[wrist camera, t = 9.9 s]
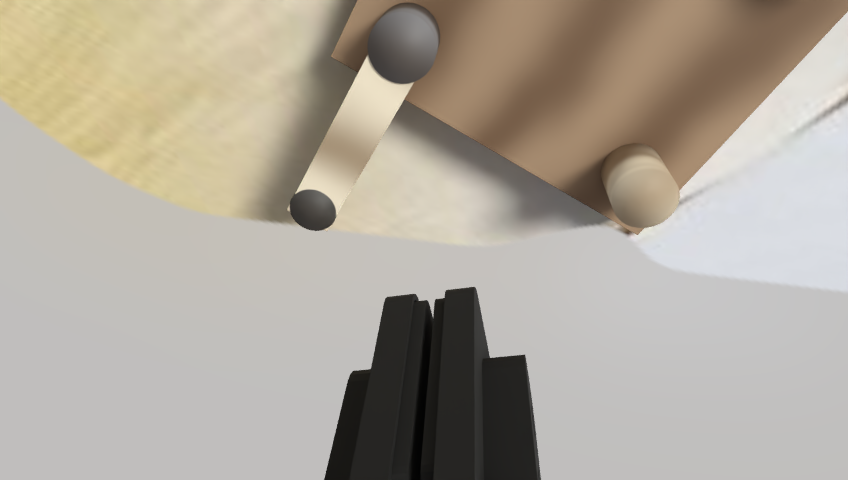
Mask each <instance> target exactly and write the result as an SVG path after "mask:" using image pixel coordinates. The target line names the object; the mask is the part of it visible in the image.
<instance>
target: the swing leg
mask: <svg viewBox="0 0 848 480" xmlns="http://www.w3.org/2000/svg"><path fill="white" fill-rule="evenodd" d="M439 44H440V30H439V26H438V23H437V21H436V19H435V18H434V16H433V15H432V14H431V13H430V12H429V11H428V10H427V9H426V8H424V7H423V6H421V5H418V4H415V3H409V2H406V3H399V4H396V5H394V6H392V7H391V8H389V9H388V10H387V11H386V12H385V13H384V14H383V16H382V17H381V18H380V19H379V21H378V22H377V23H376V24H375V26H374V27H373V29H372V30H371V32H370V35H369V38H368V55H367V57H366V59H365V61H364V63H363V65H362V67H361V69H360V70H359V72H358V74H357V76H356V78H355V80H354V82H353V84H352V86H351V88H350V90H349V92H348V94H347V95H346V97H345V99H344V101H343V103H342V105H341V107H340V109H339V111H338V113H337V115H336V117H335V118H334V120H333V122H332V124H331V126H330V128H329V130H328V132H327V134H326V136H325V138H324V140H323V142H322V143H321V145H320V147H319V149H318V151H317V153H316V155H315V157H314V159H313V161H312V163H311V165H310V166H309V168H308V170H307V172H306V174H305V176H304V178H303V180H302V182H301V184H300V186H299V188H298V189H297V191H296V193H295V194H294V196H293V197H292V199H291V201H290V205H289V207H288V209H287V211H289V212H291V215H292V217H293V219H294V220H295V221H296V222H297V223H298V224H299V225H300V226H302V227H304V228H306V229H309V230H314V231H319V230H325V231H328V229H329V227H330V226H331V225H332V224H333V222H334V220H335V218H336V216H337V214H338V212H339V210H340V208H341V207H342V205H343V203H344V202H345V200H346V198H347V196H348V195H349V193H350V191H351V190H352V188H353V186H354V184H355V183H356V181H357V179H358V178H359V176H360V174H361V172H362V171H363V169H364V167H365V166H366V164H367V162H368V160H369V159H370V157H371V155H372V154H373V152H374V150H375V148H376V147H377V145H378V143H379V142H380V140H381V138H382V136H383V135H384V133H385V131H386V130H387V128H388V126H389V124H390V123H391V121H392V119H393V118H394V116H395V114H396V112H397V111H398V109H399V107H400V106H401V104H402V102H403V100H404V99H405V97H406V95H407V94H408V92H409V90H410V88H411V87H412V85H413V83H414V82H415V81H417V80H419V79H421V78H423V77H424V76H425V75H426V74H427V73H428V72H429V71H430V69H431V68H432V66H433V64H434V61H435V58H436V54H437V51H438V48H439Z"/></svg>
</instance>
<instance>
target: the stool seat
mask: <svg viewBox="0 0 848 480" xmlns="http://www.w3.org/2000/svg"><path fill="white" fill-rule="evenodd" d="M406 2H409V3H415V4H418V5H421V6H423V7H424V8H426V9H427V10H428V11H429V12H430V13H431V14H432V15H433V16H434V18H435V19H436V21H437V23H438V26H439V30H440V44H439V48H438V51H437V54H436V58H435V61H434V64H433V66H432V68H431V69H430V71H429V72H428V73H427V74H426V75H425V76H424V77H423V78H421V79H419V80H417V81H415V82H414V83H413V85H412V87H411V88H410V90H409V92H408V94H407V95H406V97H405V100H406V101H408V102H410V103H411V104H413V105H415V106H417V107H418V108H420V109H422V110H423V111H425V112H427V113H429V114H430V115H432V116H434V117H436V118H437V119H439V120H441V121H442V122H444V123H446V124H448V125H449V126H451V127H453V128H454V129H456V130H458V131H460V132H461V133H463V134H465V135H466V136H468V137H470V138H472V139H473V140H475V141H477V142H479V143H480V144H482V145H484V146H485V147H487V148H489V149H491V150H492V151H494V152H496V153H497V154H499V155H501V156H503V157H504V158H506V159H508V160H509V161H511V162H513V163H515V164H516V165H518V166H520V167H522V168H523V169H525V170H527V171H528V172H530V173H532V174H534V175H535V176H537V177H539V178H540V179H542V180H544V181H546V182H547V183H549V184H551V185H552V186H554V187H556V188H558V189H559V190H561V191H563V192H565V193H566V194H568V195H570V196H571V197H573V198H575V199H577V200H578V201H580V202H582V203H583V204H585V205H587V206H589V207H590V208H592V209H594V210H595V211H597V212H599V213H601V214H602V215H604V216H606V217H608V218H609V219H611V220H613V221H614V222H616V223H618V224H620V225H621V226H623V227H625V228H626V229H628V230H630V231H632V232H633V233H635V234H637V235H638V234H639V233H640V232H641V231H642V230H643V229H644V228H647V227H652V226H655V225H657V224H660V223H662V222H663V221H665V220H666V219H667V218H669V217H670V216H671V215H672V213H673V212H674V211H675V209H676V208H677V206H678V203H679V198H680V193H679V190H680V189H681V188H682V187H683V186H684V185H685V184H686V183H687V182H688V181H689V180H690V179H691V178H692V177H693V175H694V174H695V173H696V172H697V171H698V170H699V169H700V168H701V167H702V166H703V165H704V164H705V163H706V162H707V161H708V159H709V158H710V157H711V156H712V155H713V154H714V153H715V152H716V151H717V150H718V149H719V148H720V147H721V146H722V145H723V144H724V142H725V141H726V140H727V139H728V138H729V137H730V136H731V135H732V134H733V133H734V132H735V131H736V130H737V129H738V128H739V126H740V125H741V124H742V123H743V122H744V121H745V120H746V119H747V118H748V117H749V116H750V115H751V114H752V113H753V112H754V111H755V109H756V108H757V107H758V106H759V105H760V104H761V103H762V102H763V101H764V100H765V99H766V98H767V97H768V96H769V95H770V93H771V92H772V91H773V90H774V89H775V88H776V87H777V86H778V85H779V84H780V83H781V82H782V81H783V80H784V79H785V78H786V76H787V75H788V74H789V73H790V72H791V71H792V70H793V69H794V68H795V67H796V66H797V65H798V64H799V63H800V62H801V60H802V59H803V58H804V57H805V56H806V55H807V54H808V53H809V52H810V51H811V50H812V49H813V48H814V47H815V46H816V45H817V43H818V42H819V41H820V40H821V39H822V38H823V37H824V36H825V35H826V34H827V33H828V32H829V31H830V30H831V29H832V27H833V26H834V25H835V24H836V23H837V22H838V21H839V20H840V19H841V18H842V17H843V16H844V15H845V14H846V13H847V12H848V0H357V2H356V4H355V6H354V8H353V10H352V13H351V15H350V17H349V19H348V21H347V23H346V25H345V28H344V30H343V32H342V34H341V36H340V38H339V40H338V43H337V45H336V47H335V49H334V51H333V53H332V55H331V57H332V58H334V59H336V60H338V61H339V62H341V63H343V64H344V65H346V66H348V67H350V68H351V69H353V70H355V71H356V72H359V70H360V69H361V67H362V65H363V63H364V61H365V59H366V57H367V55H368V38H369V35H370V32H371V30H372V29H373V27H374V26H375V24H376V23H377V22H378V21H379V19H380V18H381V17H382V16H383V14H384V13H385V12H386V11H387V10H388V9H389V8H391V7H392V6H394V5H396V4H399V3H406Z"/></svg>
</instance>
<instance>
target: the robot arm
mask: <svg viewBox="0 0 848 480" xmlns="http://www.w3.org/2000/svg"><path fill="white" fill-rule="evenodd" d="M324 480H541V477H540V467H539V458H538V449H537V440H536V431H535V423H534V415H533V406H532V398H531V391H530V383H529V376H528V370H527V363H526V358H525V355H519V356H518V355H517V356H507V357H496V358H490V356H489V351H488V346H487V341H486V336H485V331H484V327H483V321H482V315H481V310H480V305H479V301H478V295H477V291H476V288H475V287H470V288H461V289H453V290H446V292H445V298H443V299H436V300H435V306H434V317H432V313H431V310H430V306H429V303H428V301H427V300H425V301H418V297H417V296H416V294H409V295H401V296H393V297H387V298H386V299H385V302H384V306H383V312H382V317H381V322H380V327H379V332H378V337H377V342H376V347H375V352H374V357H373V362H372V367H371V369H369V370H359V371H353V372H352V373H351V374H350V377H349V380H348V383H347V387H346V391H345V395H344V399H343V403H342V408H341V412H340V416H339V420H338V424H337V429H336V433H335V437H334V441H333V446H332V450H331V454H330V458H329V463H328V466H327V471H326V475H325V479H324Z"/></svg>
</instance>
